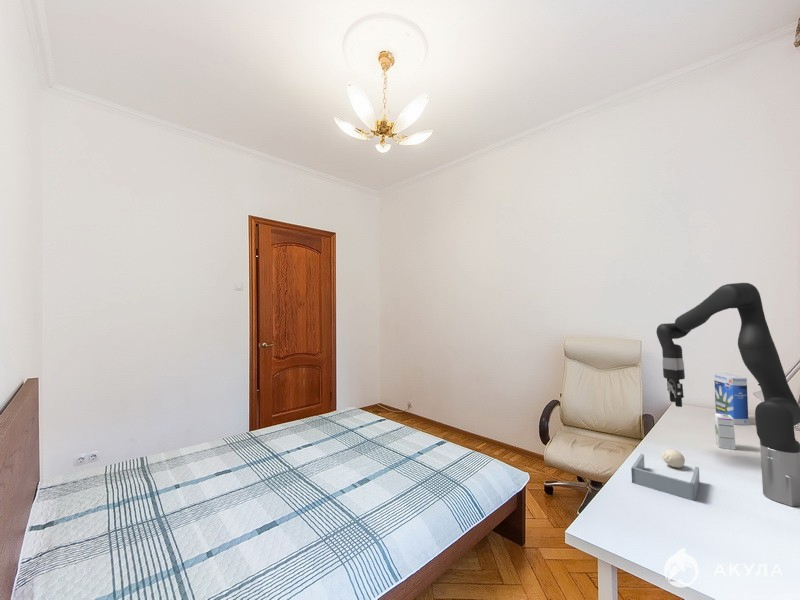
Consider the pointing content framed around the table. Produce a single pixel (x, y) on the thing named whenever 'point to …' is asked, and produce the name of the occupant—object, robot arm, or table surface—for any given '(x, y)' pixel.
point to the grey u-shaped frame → (665, 481)
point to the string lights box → (731, 397)
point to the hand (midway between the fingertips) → (676, 404)
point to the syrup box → (725, 431)
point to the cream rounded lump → (673, 458)
